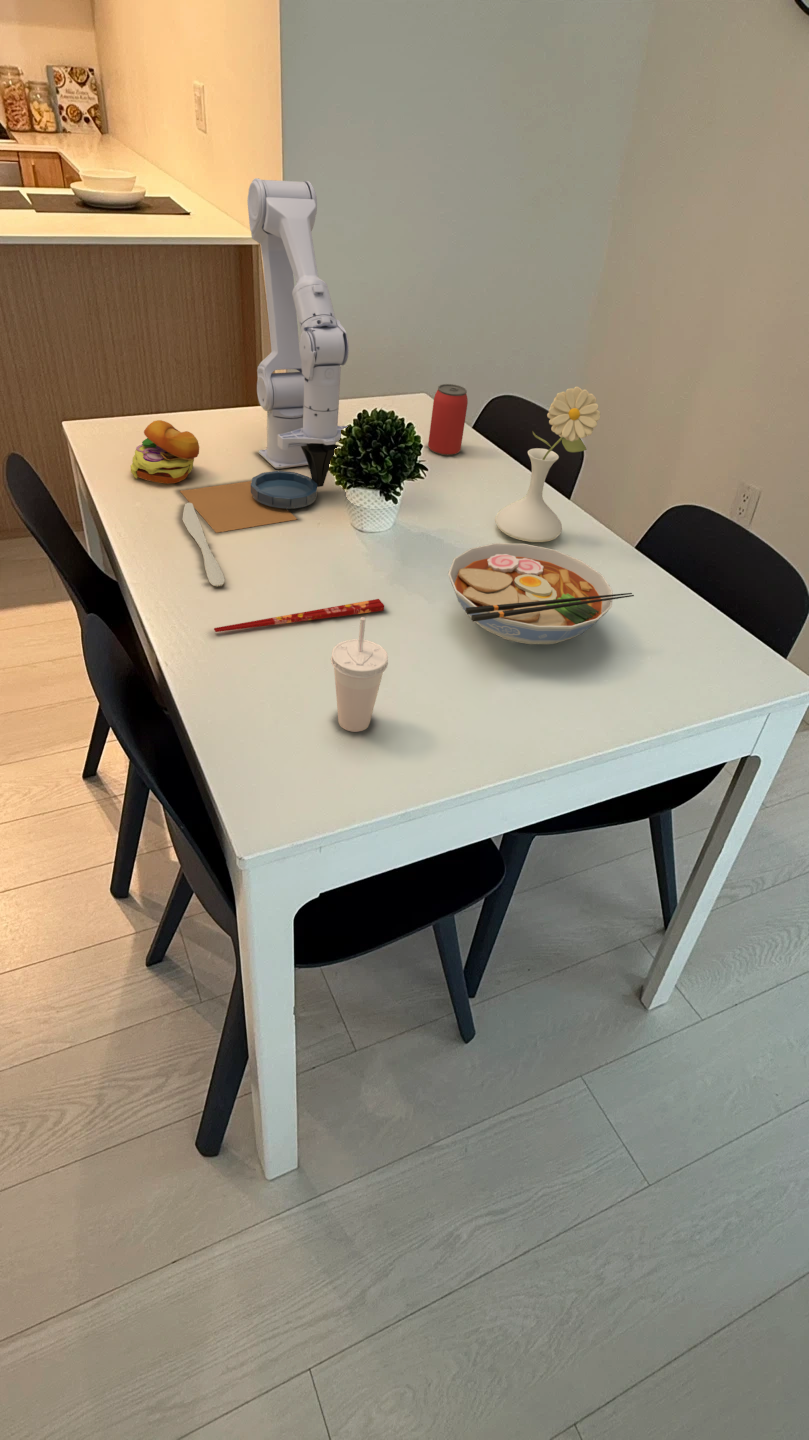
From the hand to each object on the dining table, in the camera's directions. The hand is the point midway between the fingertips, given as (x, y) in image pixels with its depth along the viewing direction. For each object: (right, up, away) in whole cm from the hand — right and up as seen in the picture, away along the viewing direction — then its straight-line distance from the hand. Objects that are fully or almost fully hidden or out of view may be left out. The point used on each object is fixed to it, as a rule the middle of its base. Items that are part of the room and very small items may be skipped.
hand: (317, 484), depth 150 cm
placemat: (-13, -5, -6) cm, 15 cm away
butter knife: (-16, -14, -17) cm, 27 cm away
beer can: (+23, +13, +23) cm, 35 cm away
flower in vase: (+36, -9, -3) cm, 38 cm away
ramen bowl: (+31, -28, -26) cm, 50 cm away
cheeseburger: (-26, +2, +1) cm, 26 cm away
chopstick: (+1, -27, -31) cm, 42 cm away
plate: (-6, -3, -2) cm, 7 cm away
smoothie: (+9, -41, -47) cm, 63 cm away
